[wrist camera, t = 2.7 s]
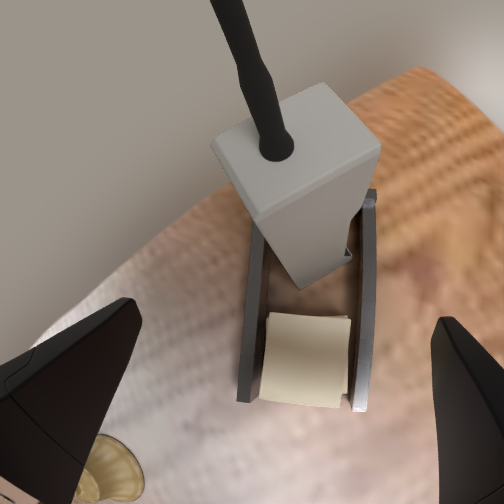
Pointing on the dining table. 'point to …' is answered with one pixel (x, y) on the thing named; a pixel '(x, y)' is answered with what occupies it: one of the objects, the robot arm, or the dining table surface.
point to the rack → (258, 305)
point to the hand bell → (110, 473)
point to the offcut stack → (306, 359)
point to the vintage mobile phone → (294, 160)
